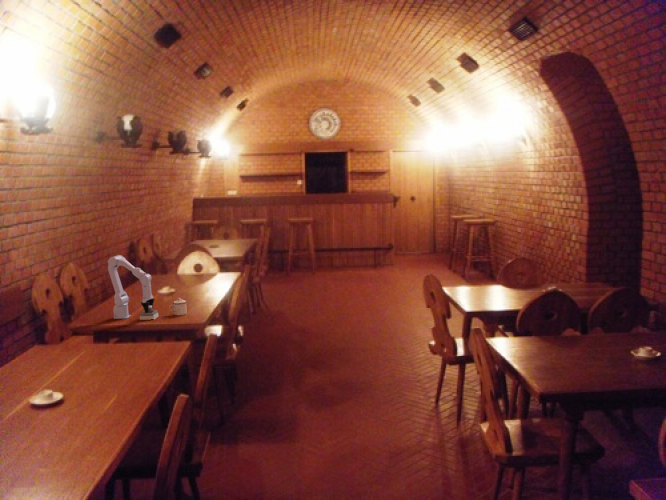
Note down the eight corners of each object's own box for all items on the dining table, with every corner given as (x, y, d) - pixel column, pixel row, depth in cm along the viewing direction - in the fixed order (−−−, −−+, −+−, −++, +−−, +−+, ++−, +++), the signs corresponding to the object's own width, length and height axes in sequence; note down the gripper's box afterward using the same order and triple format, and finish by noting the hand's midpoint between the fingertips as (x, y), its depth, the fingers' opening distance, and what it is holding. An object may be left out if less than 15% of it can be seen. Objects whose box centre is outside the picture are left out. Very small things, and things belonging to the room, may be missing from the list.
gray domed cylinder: (144, 315, 411) (143, 307, 410) (147, 313, 416) (146, 305, 415) (151, 315, 410) (150, 307, 409) (153, 313, 415) (153, 305, 414)
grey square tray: (139, 319, 409) (139, 313, 408) (144, 316, 418) (144, 310, 417) (153, 319, 408) (153, 313, 408) (158, 316, 417) (158, 309, 417)
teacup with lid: (187, 312, 426) (186, 296, 424) (186, 315, 417) (185, 299, 415) (170, 313, 424) (169, 297, 423) (169, 316, 415) (167, 300, 414)
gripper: (148, 293, 403) (150, 313, 405) (156, 289, 417) (158, 307, 419) (138, 293, 403) (140, 313, 405) (146, 289, 418) (148, 307, 420)
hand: (148, 310), depth 412 cm, fingers open, 7 cm apart
